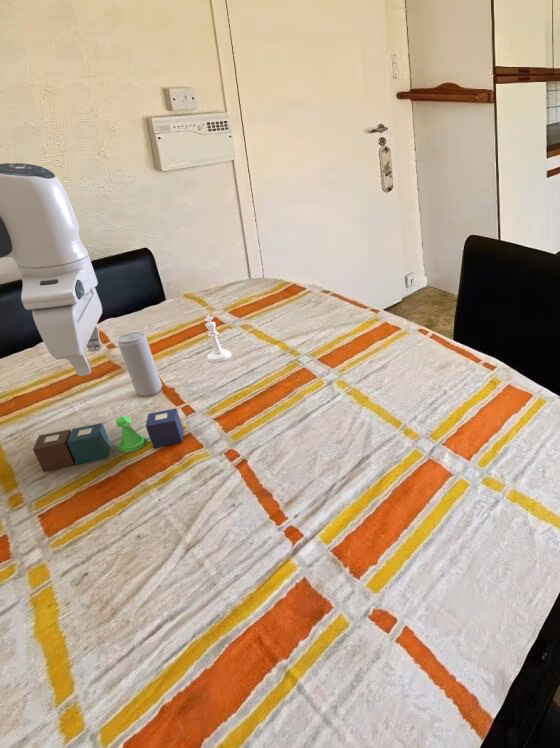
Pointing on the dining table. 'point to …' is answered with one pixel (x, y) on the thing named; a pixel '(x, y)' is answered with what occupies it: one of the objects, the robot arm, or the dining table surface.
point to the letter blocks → (100, 441)
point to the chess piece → (215, 344)
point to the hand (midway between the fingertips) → (90, 361)
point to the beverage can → (140, 363)
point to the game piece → (129, 436)
